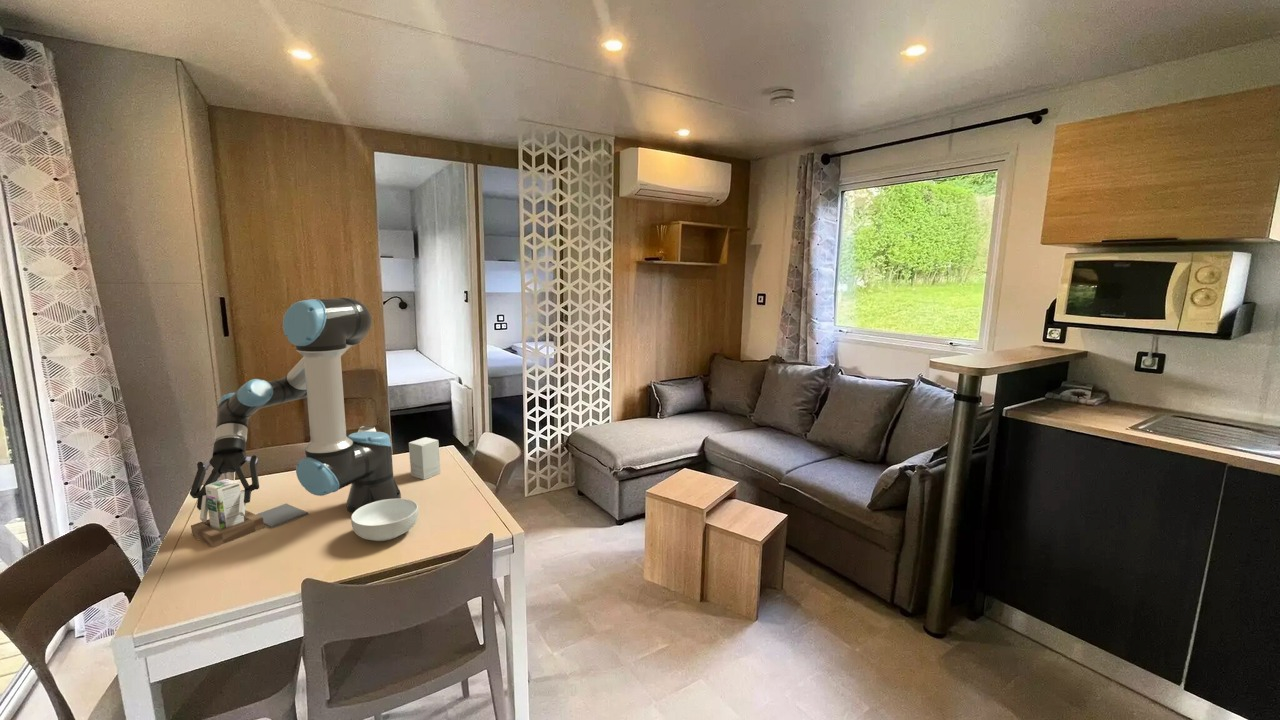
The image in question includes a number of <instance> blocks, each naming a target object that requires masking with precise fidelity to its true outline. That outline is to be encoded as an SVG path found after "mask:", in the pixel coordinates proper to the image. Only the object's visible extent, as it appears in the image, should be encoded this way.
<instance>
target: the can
mask: <svg viewBox="0 0 1280 720" xmlns="http://www.w3.org/2000/svg"><path fill="white" fill-rule="evenodd" d="M369 431H375V432H377V429H376V426H375V425H363V426H359V427H358V431H357V432H369Z"/></svg>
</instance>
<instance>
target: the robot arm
mask: <svg viewBox="0 0 1280 720" xmlns="http://www.w3.org/2000/svg"><path fill="white" fill-rule="evenodd" d="M372 323H373V317H372V314H371V311H370V310H369V308H368V307H367V306H366V305H365V304H364V303H363V302H361V301H359V300H357V299H355V298H352V297H339V298H338V297H336V298H335V297H334V298H313V299H312V298H309V299H305V300H298V301H296V302H294V303H292V304H291V305H290V306H289V307H288V308H287V309H286V311H285V313H284V315H283V318H282V329H283V330H282V331H283V333H284V336H286V339H287V340H288V342H289V343H290V344H292V345H295V350H296V352H298V353H299V354H300V355H301V356H302V358H301V359H300V360H299V361H298V362H297V363H296V364H295V365H294V367H292V368H291V370H290V371H289V372H288V373H286V375H284V377H282V378H278V379H274V380H269V381H266V380H265V379H261V378H260V379H259V378H253V379H251V380H249V381H246V382H245V383H244V384H243V385H241V386H240V387H239V388H238V389H237V390H236V391H235V392H230V393H227V394H223V395H222V396H221V397H220V399H219V402H218V405H217V414H216V415H217V417H216V424H215V425H216V426H215V432H214V441H213V442H214V443H213V448H212V456H211V458H210V459H209V460H208V461H205V462H202V461H198V462H197V463H196V465H197V471H196V473H195V477H194V479H193V483H192V485H191V489H190V491H189V496H191V498H192V499H197V503H196V508H197V510H198V511H200V515H199V519H200V522H207V520H208V514H209V512H208V504H207V496H206V488H205V486H206V485H208V484H211V483H214V482H217V481H218V479H219V478H221V476H222V474H227V473H236V475H237V477H238V479H239V480H240V481H239V482H240V483H241V485H242V487H243V489H240V491H241V493H240V504H239V514H240V515H241V516H245V510H246V504H248V503H249V504H250V502H251V495H252V492H253V491H255V490H259V489H260V483H259V482H260V481H259V474H258V462H259V459H258V457H257V455H255V454H254V455H252V456H247V455H246V453H247V452H246V451H247V439H248V431H249V430H248V429H249V428H248V427H249V420H250V418H251V417H252V416H253V415H254V414H255V413H257V411H259V410H261V409H263V408H268V407H271V406H276V405H280V404H284V403H288V402H292V401H299V400H302V399H305V398H306V399H307V413H308V422H309V435H310V441H309V442H308V443H307V444H306V445H305V446H304V451H305V455H304V456H305V457H303V458H301V459H300V460H298V462H297V464H296V467H295V473H296V477H297V480H298V482H299V483H300V484H301V486H302V488H304V489H305V490H306V492H308V493H310V494H311V495H314V496H318V497H319V496H320V497H323V496H326V495H329V494H331V493H337V492H338V491H339V490H341V489H343V488H345V487H348V486H350V489H349V491H348V495H347V499H346V509H347V512H348V513H350V514H351V515H352V514H353V513H354V512H355V511H356V510H357V509H358V508H360V507H362V506H364V505H367V504H369V503H372V502H376V501H380V500H386V499H402V492H401V490H400V488H399V486H398V484H397V482H396V480H395V478H394V469H393V468H394V467H393V453H392V452H393V451H392V446H393V445H392V443H391V438H390V437H391V436H390V435H389V434H388V433H386V432H383V431H376V432H375V431H369V432H358V431H357V432H353V433H350V434H348V436H347V427H346V413H345V411H346V410H345V400H344V396H345V395H344V385H343V384H344V383H343V372H342V371H343V369H342V368H343V367H342V356H343V355H344V354H345V353H346V352H347V351H348V350H349V349H350V348H351V347H353V346H357V345H359V344H360V343H361V342H362V340H364V339H365V338H366V337H367V336H368V334H369V332H370V331H371V328H372ZM245 463H247V465H249V472H250V478H251V484H249V482H248V480H247V478H246V477H245V474H244V473H243V470H242V467H243V465H244V464H245ZM209 467H212V470H211V473H210V474H209V475H208V478H207V479H206V480H205V477H206V474H207V473H206V471H208V469H209ZM204 481H205V482H204ZM203 482H204V484H203Z"/></svg>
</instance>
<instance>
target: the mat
mask: <svg viewBox="0 0 1280 720" xmlns="http://www.w3.org/2000/svg"><path fill="white" fill-rule="evenodd" d="M255 514H256V515H258V516H260V517H262V518H263V522H264V527H265V526H266V527H268V528H270V529H274V528H278V527H279V526H281V525H284V524H288V523H290V522H293V521H295V520H298V519H300V518H302V517H304V516H308V515H309V511H307V510H303V509H301V508H299V507H296V506H293V505H290V504H288V503H284V504H281V505H279V506H275V507H273V508H270V509H267V510H264V511H262V512H259V513H255Z"/></svg>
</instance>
